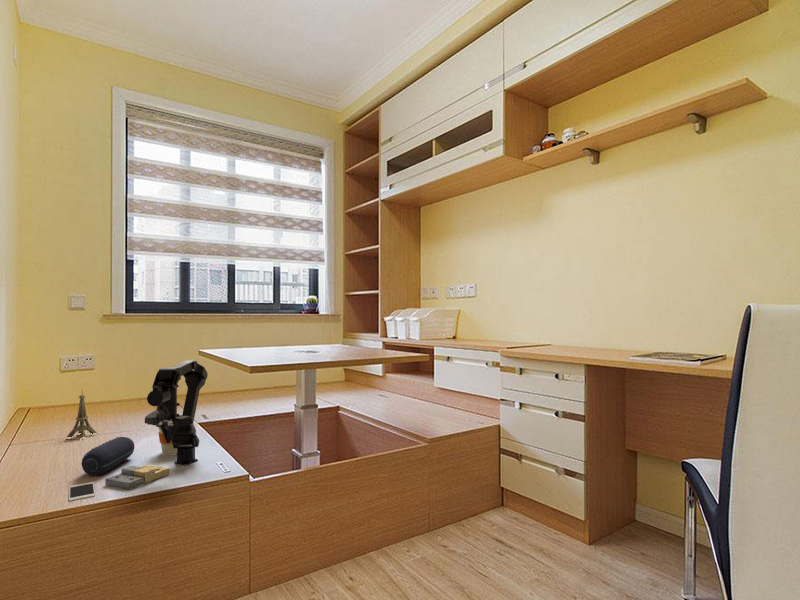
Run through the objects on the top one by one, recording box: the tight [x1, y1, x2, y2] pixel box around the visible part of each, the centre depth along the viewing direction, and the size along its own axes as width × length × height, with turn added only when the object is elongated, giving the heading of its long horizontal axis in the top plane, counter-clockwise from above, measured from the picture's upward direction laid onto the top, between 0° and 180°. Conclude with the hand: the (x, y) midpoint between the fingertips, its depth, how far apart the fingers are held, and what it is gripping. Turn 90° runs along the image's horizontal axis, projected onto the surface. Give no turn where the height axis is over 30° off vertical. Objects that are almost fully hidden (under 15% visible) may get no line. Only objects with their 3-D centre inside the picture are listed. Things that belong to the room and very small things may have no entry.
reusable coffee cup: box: [158, 414, 182, 456], centre depth 205 cm, size 13×13×15 cm
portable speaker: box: [81, 436, 135, 476], centre depth 185 cm, size 25×10×10 cm, turn 4°
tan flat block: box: [134, 464, 170, 484], centre depth 173 cm, size 10×12×4 cm
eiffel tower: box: [66, 390, 98, 438], centre depth 235 cm, size 11×11×25 cm
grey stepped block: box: [104, 465, 145, 491], centre depth 167 cm, size 10×12×4 cm
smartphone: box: [68, 481, 96, 502], centre depth 159 cm, size 7×16×1 cm, turn 35°
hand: (168, 442), depth 176 cm, fingers closed
